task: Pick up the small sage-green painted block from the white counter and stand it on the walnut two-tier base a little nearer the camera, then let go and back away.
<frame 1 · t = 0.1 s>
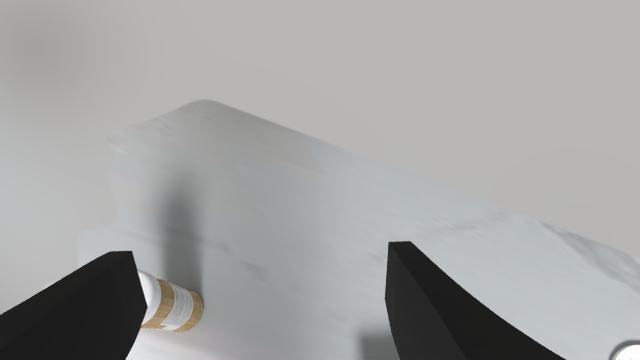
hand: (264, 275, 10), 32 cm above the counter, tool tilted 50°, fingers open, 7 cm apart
sprinkles bottle: (185, 310, 40), on the counter
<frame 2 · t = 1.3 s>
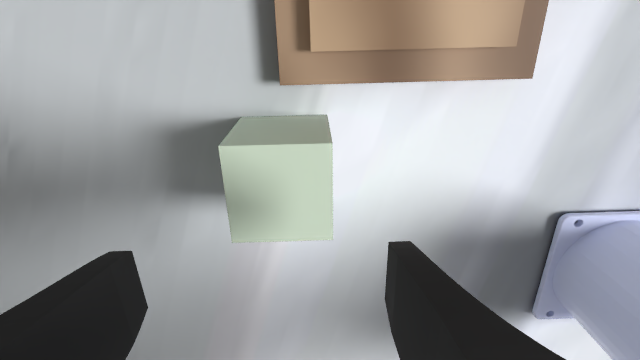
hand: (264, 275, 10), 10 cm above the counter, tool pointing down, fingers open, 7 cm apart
sage block: (286, 156, 19), on the counter
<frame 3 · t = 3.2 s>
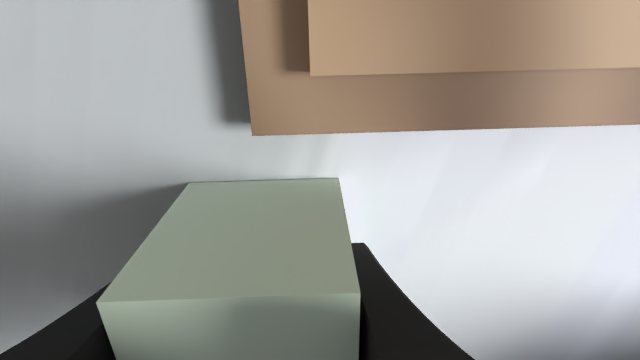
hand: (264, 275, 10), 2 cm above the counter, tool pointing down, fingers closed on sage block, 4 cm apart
sage block: (270, 243, 11), on the counter, touching gripper
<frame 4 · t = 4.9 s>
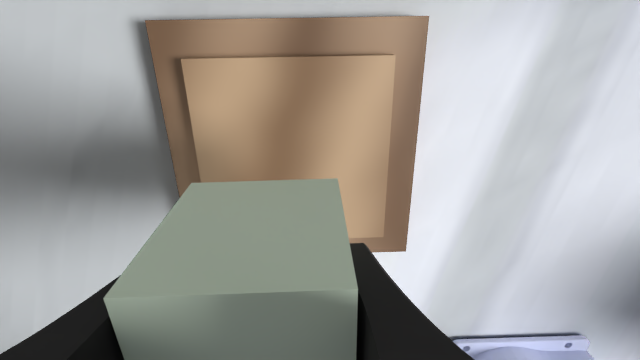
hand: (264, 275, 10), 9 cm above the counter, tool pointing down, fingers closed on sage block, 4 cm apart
sage block: (270, 242, 12), point 8 cm above the counter, touching gripper
walnut base: (295, 145, 18), on the counter
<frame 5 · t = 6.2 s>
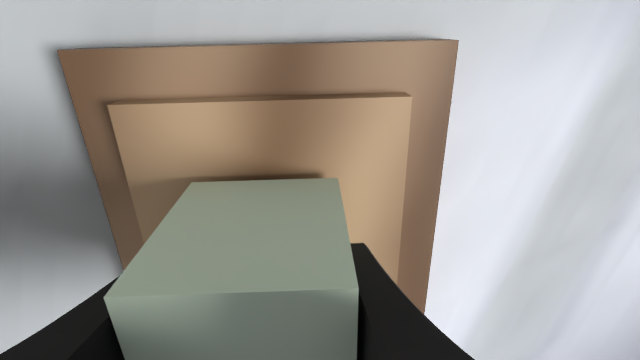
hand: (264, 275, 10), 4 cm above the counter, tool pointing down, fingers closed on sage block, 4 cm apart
sage block: (270, 241, 12), point 3 cm above the counter, touching gripper
walnut base: (277, 204, 14), on the counter
when the fingers open (4 cm above the counter, at t = 7.1 s): sage block stays where it is, resting on walnut base.
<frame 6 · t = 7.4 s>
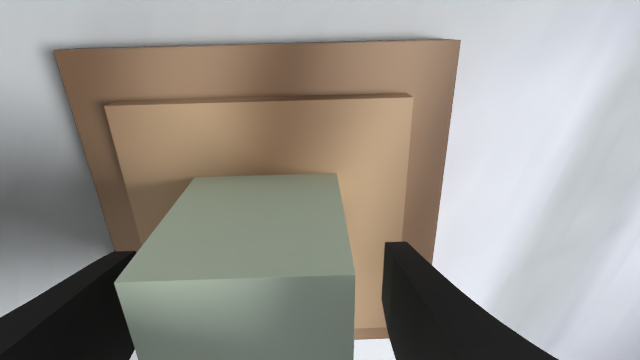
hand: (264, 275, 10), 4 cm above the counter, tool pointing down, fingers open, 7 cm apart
sage block: (271, 235, 12), point 2 cm above the counter, touching walnut base
walnut base: (276, 206, 14), on the counter
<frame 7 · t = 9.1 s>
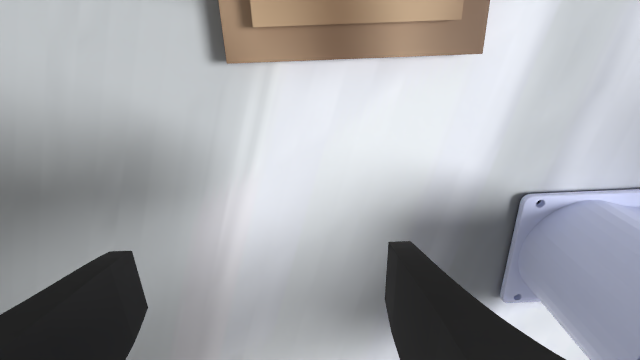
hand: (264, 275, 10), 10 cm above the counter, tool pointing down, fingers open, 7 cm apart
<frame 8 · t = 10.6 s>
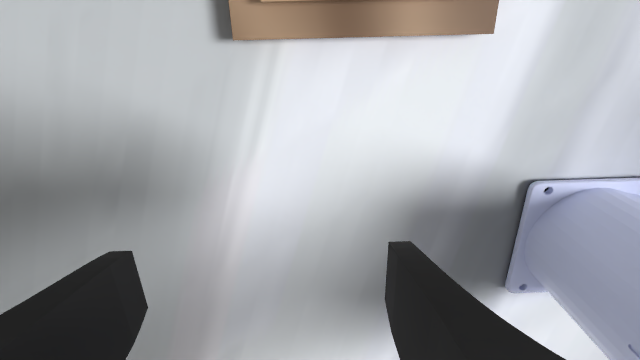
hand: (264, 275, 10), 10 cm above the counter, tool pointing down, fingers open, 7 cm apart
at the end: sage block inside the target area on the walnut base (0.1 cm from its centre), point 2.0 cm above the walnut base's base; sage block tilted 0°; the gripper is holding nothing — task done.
